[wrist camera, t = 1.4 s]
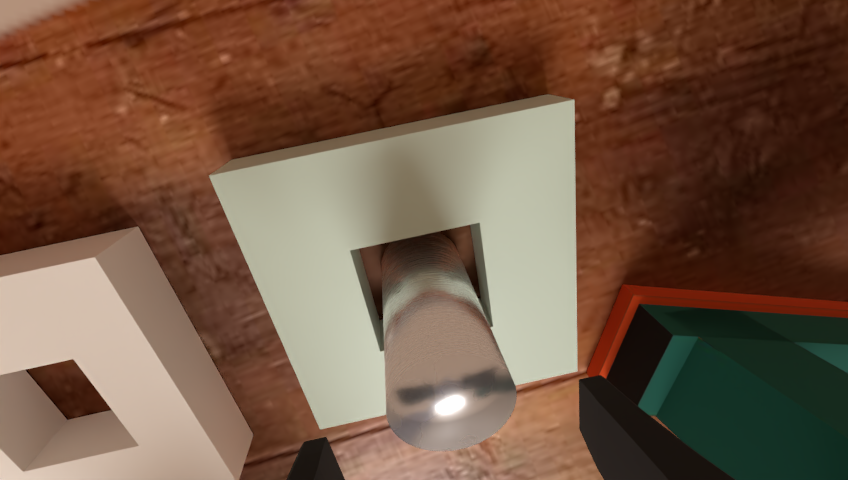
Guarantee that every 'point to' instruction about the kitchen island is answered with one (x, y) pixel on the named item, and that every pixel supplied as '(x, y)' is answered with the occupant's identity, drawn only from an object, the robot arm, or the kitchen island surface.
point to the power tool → (736, 376)
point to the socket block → (408, 217)
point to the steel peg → (439, 349)
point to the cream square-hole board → (110, 369)
